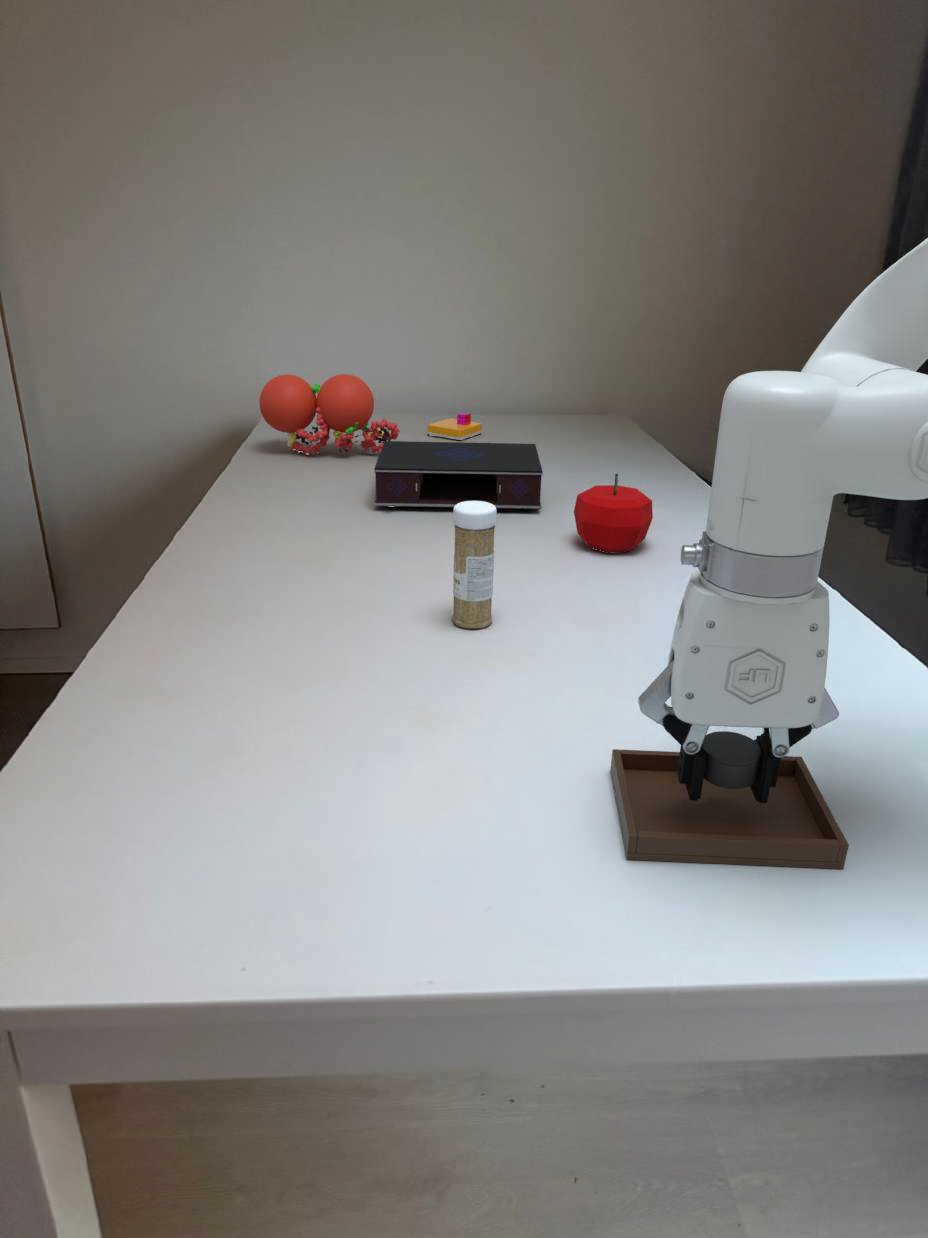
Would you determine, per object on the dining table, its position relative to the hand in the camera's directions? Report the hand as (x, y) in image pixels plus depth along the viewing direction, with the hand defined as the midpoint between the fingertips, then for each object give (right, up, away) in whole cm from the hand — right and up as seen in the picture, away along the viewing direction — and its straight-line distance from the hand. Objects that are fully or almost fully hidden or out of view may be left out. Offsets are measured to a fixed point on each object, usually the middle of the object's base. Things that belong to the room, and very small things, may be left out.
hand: (724, 789), depth 68 cm
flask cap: (0, +3, -1) cm, 3 cm away
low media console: (-20, +32, +77) cm, 86 cm away
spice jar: (-19, +12, +33) cm, 40 cm away
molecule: (-44, +43, +100) cm, 117 cm away
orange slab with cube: (-21, +50, +116) cm, 128 cm away
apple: (+1, +23, +57) cm, 61 cm away
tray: (0, -2, +1) cm, 2 cm away
